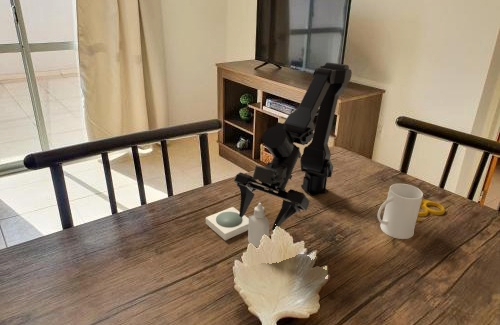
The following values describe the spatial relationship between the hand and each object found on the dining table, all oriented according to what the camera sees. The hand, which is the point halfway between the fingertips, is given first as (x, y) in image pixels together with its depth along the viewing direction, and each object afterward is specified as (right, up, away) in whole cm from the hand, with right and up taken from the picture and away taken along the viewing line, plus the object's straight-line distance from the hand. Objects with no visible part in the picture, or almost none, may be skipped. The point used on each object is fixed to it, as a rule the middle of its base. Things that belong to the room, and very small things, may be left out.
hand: (256, 223), depth 88 cm
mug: (+36, -4, +11) cm, 38 cm away
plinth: (-7, -2, +11) cm, 13 cm away
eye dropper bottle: (0, -6, +4) cm, 7 cm away
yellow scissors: (+47, 0, +20) cm, 52 cm away
